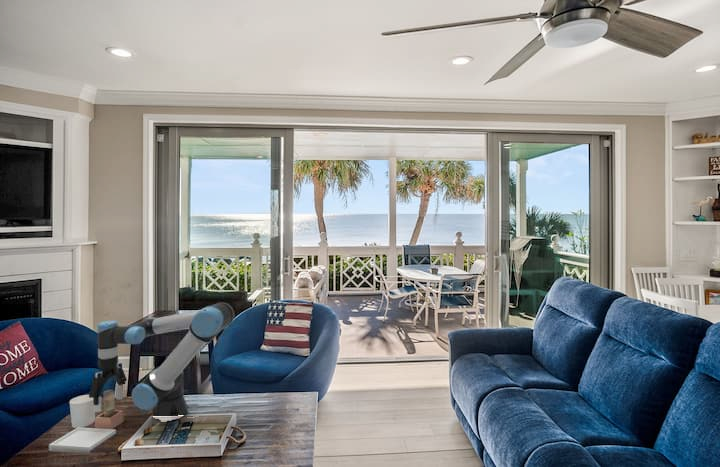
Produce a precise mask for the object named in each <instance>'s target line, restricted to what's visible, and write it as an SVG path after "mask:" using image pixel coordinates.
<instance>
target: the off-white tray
mask: <svg viewBox="0 0 720 467" xmlns="http://www.w3.org/2000/svg"><path fill="white" fill-rule="evenodd" d="M116 434H117V429H115V428H113V429H98V428H95V427H81V428H80V427H78V428H74V429H73V430H71V431H70V432H68V433H66V434H64V435H63V436H61V437H59V438H58V439H55V440H54V441H52V442H50V443H49V444H48V451H49V452H61V453H73V454H74V453H75V454H77V453H78V454H92V453H93V451H92V450H94V449H95V448H96V447H98V446H99V445H101V444H103V443H104V442H106V441H107V440H108V439H110V438H112V437H113V436H114V435H116Z"/></svg>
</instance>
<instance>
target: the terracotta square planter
mask: <svg viewBox="0 0 720 467" xmlns="http://www.w3.org/2000/svg"><path fill="white" fill-rule="evenodd" d="M124 418H125V417H124V410H118V409H115V415H114V416H112V417H104V412H102V413H100V414H99V415H97V416H95V421H94V428H98V429H115V428H116V427H118V426H119V425H121V424H122V423H124Z"/></svg>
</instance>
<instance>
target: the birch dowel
mask: <svg viewBox="0 0 720 467" xmlns="http://www.w3.org/2000/svg"><path fill="white" fill-rule="evenodd" d="M102 392H103V413H104V417H112V416H114V415H115V410H116V409H115V408H116V407H115V389H107V390H105V391H102Z"/></svg>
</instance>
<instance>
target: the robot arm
mask: <svg viewBox="0 0 720 467" xmlns="http://www.w3.org/2000/svg"><path fill="white" fill-rule="evenodd" d="M234 319H235V311H234V308H233V307H232V306H231V305H230V304H229V303H226V302H222V301H221V302H216V303H215V304H211V305H207V306H205V307H204V308H201V309H198V310H197V309H196V310H191V311H188V312H187V311H186V312H182V313H177V314H176V313H175V314H171V315H165V316H160V317H155V318H154V317H151V318H146V319H144V320H142V321H140V322H136V323H134V324H131V325H128V326H121V325H120V326H119V325H118V321H116V320H106V321H101V322H99V323H98V325H97V333H96V334H97V335H96V336H97V366H98V368H99V372H94V373H93V380H92V384H91V387H90V391H89V394H88V395H89V398H93V404H94V412H95V413H101V412H102V396H101V394H102V392H103V388H104V386H105V384H106V382H107V381H108V380H109V379H110V378H112V379H113V380H114V382H115V383H116V385H115V392H116V393H115V394H116V395H115V398H116V400H124V396H123V394H124V393H123V392H124V385H126V382H127V376H126V374H125V372H124V369H123V363H122V362H119V356H118V355H119V345H139V344H142V342H143V341H145V340H144V339H145V338H147V337H150V336H155V335H159V334H160V335H161V334H165V333H170V332H177V331H183V330H187V329H188V332H187V333H186V335H185V336H184V337H183V338H182V339H181V340H180V342H179V343H178V344H177V345H176V346H175V348H174V349H173V350H172V351H171V353H170V354H169V355H168V357H166V358H165V360H164V361H163V362H162V363H161V365H160V366H157V367H156V368H155V369H153V370H152V371H150V373H149V374H148V375H147V376H146V377H145V379H143V380H142V381H141V382H140V383H138V384H136V386H135V387H134V388H133V389H132V391H131V397H132V398H131V399H132V403H133V404H134V405H135V406H136V407H137V408H138V409H139V410H143V411H150V410H151V409H153V410H152V415H151V416H178V415H185V416H187V414H188V413H189V412H188V411H189V408H188V407H189V406H188V405H187V401H186V399H185V396H184V393H185V392H184V369H186V367H187V366H188V365H189V364H190V362H191V361H192V360H193V359H194V358H195V356H196V355H197V354H198V353H199V352H200V351H201V349H202V348H203V347H204V346H205V344H210V343H212V341H213V340H214V339H215V338H216V337H217V336H218V335H219V334H220V332H221V331H222V330H224V329H226V328H228V327H229V326H230V325H231V324H232V323H233V321H234Z"/></svg>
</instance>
